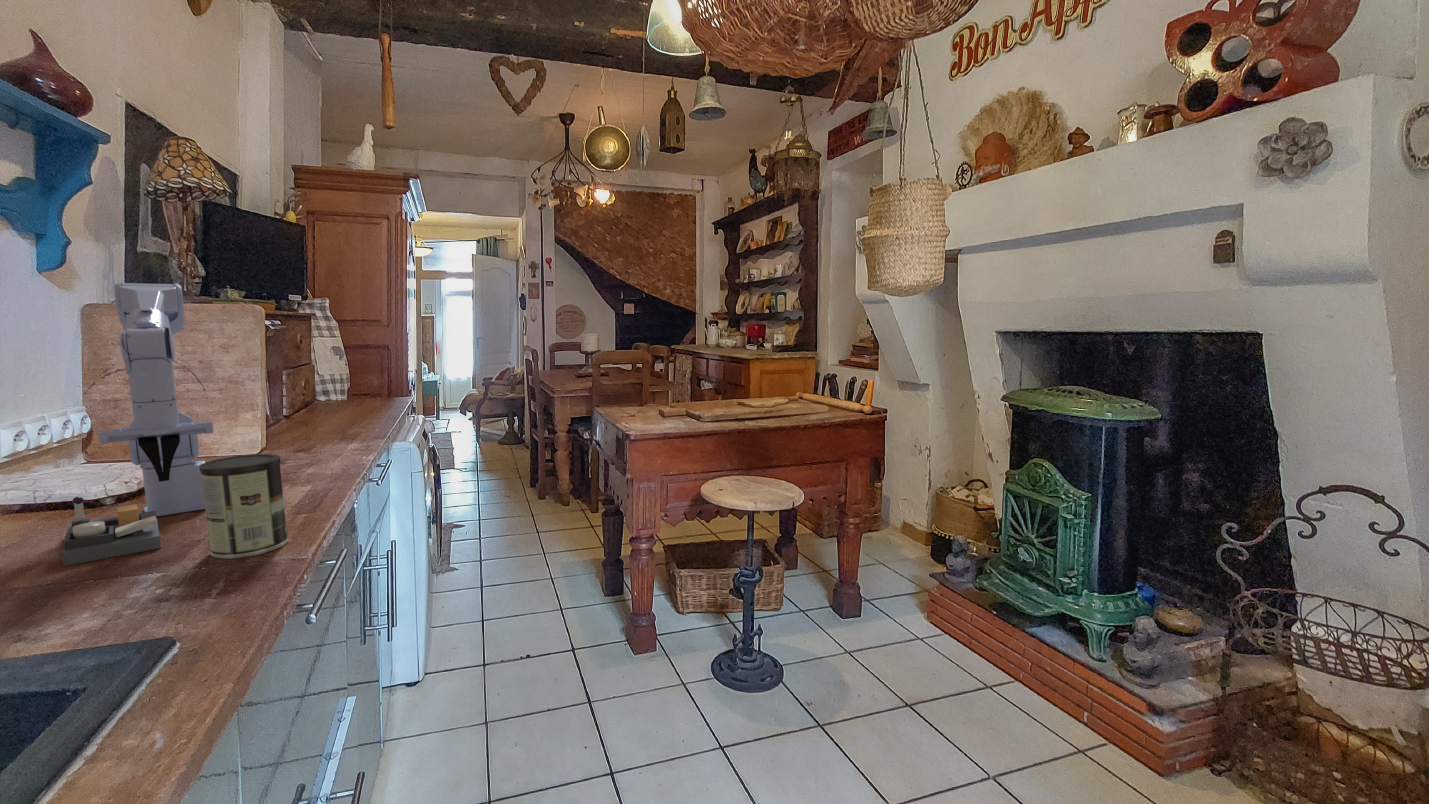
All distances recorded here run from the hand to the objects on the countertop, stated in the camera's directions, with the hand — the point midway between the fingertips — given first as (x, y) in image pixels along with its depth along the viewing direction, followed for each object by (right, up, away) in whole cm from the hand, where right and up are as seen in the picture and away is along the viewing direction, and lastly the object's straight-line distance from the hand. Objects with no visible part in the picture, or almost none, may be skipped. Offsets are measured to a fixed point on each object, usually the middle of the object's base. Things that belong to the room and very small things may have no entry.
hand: (164, 480), depth 110 cm
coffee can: (+19, -10, -7) cm, 23 cm away
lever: (-12, -6, -2) cm, 14 cm away
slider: (-4, -7, -2) cm, 8 cm away
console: (-5, -10, -4) cm, 11 cm away
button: (-3, -7, -10) cm, 13 cm away
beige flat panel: (+1, -7, -6) cm, 9 cm away
